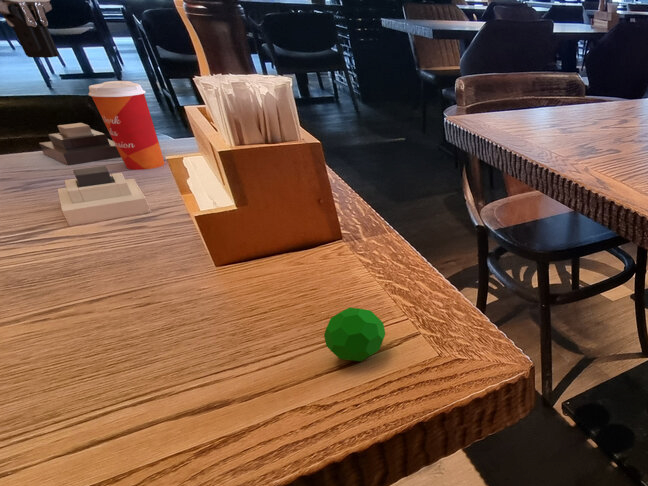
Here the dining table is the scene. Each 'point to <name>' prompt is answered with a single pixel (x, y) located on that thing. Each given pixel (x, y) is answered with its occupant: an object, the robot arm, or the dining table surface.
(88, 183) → the front key
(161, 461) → the dining table surface
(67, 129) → the back key
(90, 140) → the block
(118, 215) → the front block
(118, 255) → the dining table surface
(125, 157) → the paper cup
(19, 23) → the robot arm
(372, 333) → the polyhedron
